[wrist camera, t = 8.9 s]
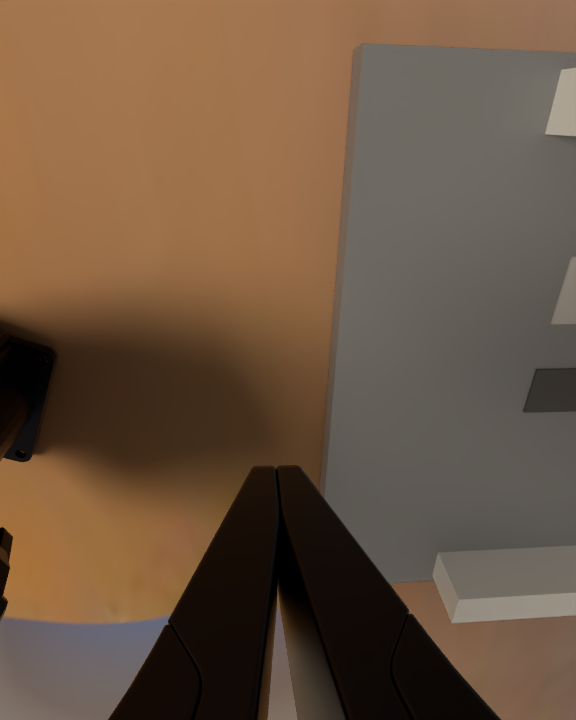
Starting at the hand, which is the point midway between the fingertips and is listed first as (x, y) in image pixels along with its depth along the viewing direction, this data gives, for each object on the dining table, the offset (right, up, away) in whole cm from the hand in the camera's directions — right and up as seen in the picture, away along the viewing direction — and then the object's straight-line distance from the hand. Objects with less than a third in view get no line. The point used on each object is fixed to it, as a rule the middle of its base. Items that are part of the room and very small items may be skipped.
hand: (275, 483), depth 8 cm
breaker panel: (+16, +2, +16) cm, 22 cm away
